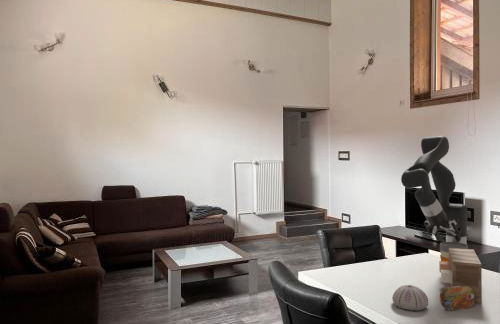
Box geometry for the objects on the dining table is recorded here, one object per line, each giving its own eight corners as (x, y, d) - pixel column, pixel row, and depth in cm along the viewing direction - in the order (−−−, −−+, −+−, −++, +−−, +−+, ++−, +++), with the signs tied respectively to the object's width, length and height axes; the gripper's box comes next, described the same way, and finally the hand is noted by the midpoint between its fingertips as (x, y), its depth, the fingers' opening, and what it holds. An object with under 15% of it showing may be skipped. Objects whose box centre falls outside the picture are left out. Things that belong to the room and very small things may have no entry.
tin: (444, 312, 147) (444, 290, 147) (438, 308, 150) (438, 287, 150) (476, 307, 151) (476, 285, 151) (470, 304, 154) (469, 283, 154)
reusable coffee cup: (461, 271, 195) (461, 241, 194) (473, 279, 182) (473, 247, 182) (435, 271, 196) (435, 241, 196) (445, 279, 183) (445, 247, 183)
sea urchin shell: (418, 316, 144) (417, 294, 144) (385, 305, 154) (384, 285, 154) (434, 306, 152) (434, 286, 152) (402, 297, 163) (402, 278, 163)
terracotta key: (439, 269, 179) (439, 260, 179) (456, 271, 176) (456, 262, 176) (439, 272, 175) (439, 263, 175) (457, 274, 172) (457, 265, 172)
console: (448, 282, 179) (448, 247, 179) (473, 284, 175) (473, 249, 175) (453, 301, 157) (452, 261, 157) (481, 304, 153) (481, 263, 153)
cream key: (440, 278, 166) (440, 269, 166) (459, 280, 164) (459, 271, 164) (441, 282, 162) (441, 272, 162) (460, 284, 159) (460, 274, 159)
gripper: (452, 204, 159) (469, 235, 162) (421, 205, 171) (437, 234, 174) (444, 215, 155) (462, 247, 159) (413, 216, 167) (430, 245, 171)
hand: (449, 240), depth 167 cm, fingers open, 8 cm apart
